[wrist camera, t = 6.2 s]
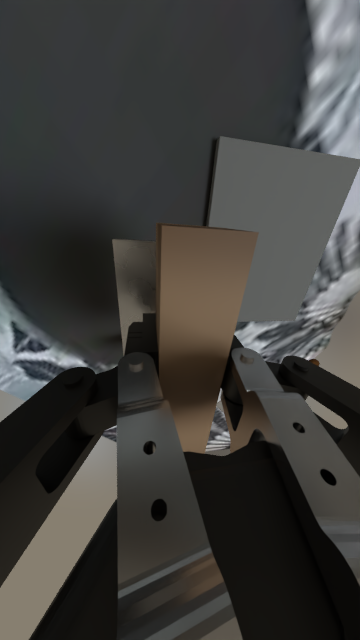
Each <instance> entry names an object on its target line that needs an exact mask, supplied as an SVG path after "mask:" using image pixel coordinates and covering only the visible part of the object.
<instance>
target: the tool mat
mask: <svg viewBox="0 0 360 640" xmlns="http://www.w3.org/2000/svg"><path fill="white" fill-rule="evenodd" d="M359 167H360V159H354V158H348V157H342V156H336V155H330V154H324V153H318V152H312V151H306V150H300V149H294V148H288V147H282V146H276V145H270V144H264V143H258V142H252V141H246V140H240V139H234V138H228V137H222V136H220V137H219V138H218V139H217V143H216V151H215V159H214V168H213V176H212V184H211V192H210V200H209V208H208V216H207V224H206V226H207V227H220V228H228V229H236V230H244V231H252V232H259V234H258V238H257V242H256V246H255V250H254V255H253V259H252V263H251V267H250V271H249V275H248V279H247V283H246V287H245V291H244V295H243V299H242V303H241V307H240V311H239V315H238V319H237V322H246V321H295V319H296V317H297V314H298V312H299V310H300V307H301V305H302V302H303V300H304V298H305V295H306V293H307V290H308V288H309V286H310V283H311V281H312V279H313V276H314V274H315V271H316V269H317V267H318V264H319V262H320V260H321V257H322V255H323V252H324V250H325V248H326V245H327V243H328V240H329V238H330V236H331V233H332V231H333V229H334V226H335V224H336V221H337V219H338V217H339V214H340V212H341V210H342V207H343V205H344V202H345V200H346V198H347V195H348V193H349V190H350V188H351V186H352V183H353V181H354V179H355V176H356V174H357V171H358V169H359Z"/></svg>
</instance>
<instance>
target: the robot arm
mask: <svg viewBox="0 0 360 640" xmlns="http://www.w3.org/2000/svg"><path fill="white" fill-rule="evenodd" d="M221 388H222V392H221V402H222V406H223V410H224V414H225V418H226V422H227V426H228V429H229V433H230V440H231V446H230V451H231V453H230V454H229V455H226V456H216V455H210V454H203V453H196V452H190V451H187V452H183V450H182V446H181V443H180V439H179V436H178V432H177V429H176V425H175V422H174V419H173V415H172V412H171V408H170V405H169V402H168V400H167V398H165V399H164V398H163V394H162V391H161V387H160V383H159V379H158V343H157V332H156V313H143V322H133V323H132V324H131V325H130V326H129V328H128V334H127V340H126V347H125V353H124V357H122V358H121V359H120V361H119V362H118V366H116V367H115V368H113V369H111V370H109V371H106V372H102V373H99V374H95V372H94V371H93V370H92V369H90V368H87V367H75V368H71V369H68V370H66V371H64V372H62V373H60V374H59V375H58V376H56V377H55V378H54V379H53V380H51V381H50V382H49V383H48V384H47V385H45V386H44V387H43V388H42V389H40V390H39V391H38V392H37V393H36V394H34V395H33V396H32V397H31V398H29V399H28V400H27V401H26V402H24V403H23V404H22V405H21V406H20V407H18V408H17V409H16V410H15V411H13V412H12V413H11V414H10V415H9V416H7V417H6V418H5V419H4V420H2V421H1V422H0V587H1V585H2V584H3V582H4V581H5V580H6V578H7V576H8V575H9V573H10V572H11V571H12V569H13V567H14V566H15V565H16V563H17V562H18V560H19V559H20V557H21V556H22V554H23V552H24V551H25V549H26V548H27V547H28V545H29V544H30V542H31V540H32V539H33V538H34V536H35V534H36V533H37V531H38V530H39V529H40V527H41V526H42V524H43V523H44V521H45V520H46V518H47V516H48V515H49V513H50V512H51V511H52V509H53V507H54V506H55V505H56V503H57V502H58V500H59V499H60V497H61V496H62V494H63V492H64V491H65V490H66V488H67V486H68V485H69V484H70V482H71V481H72V479H73V477H74V476H75V475H76V473H77V471H78V470H79V469H80V467H81V466H82V464H83V463H84V461H85V460H86V458H87V457H88V455H89V454H90V452H91V450H92V449H93V448H94V446H95V445H96V443H97V442H98V440H99V439H100V437H101V436H102V434H103V432H104V430H106V429H109V428H111V427H113V426H116V425H117V499H116V500H115V502H114V503H113V505H112V506H111V508H110V509H109V511H108V512H107V514H106V516H105V517H104V519H103V521H102V522H101V524H100V526H99V527H98V529H97V530H96V532H95V534H94V535H93V537H92V538H91V540H90V542H89V543H88V545H87V546H86V548H85V550H84V551H83V553H82V555H81V556H80V558H79V559H78V561H77V563H76V564H75V566H74V567H73V569H72V571H71V572H70V574H69V576H68V577H67V579H66V580H65V582H64V584H63V585H62V587H61V588H60V590H59V592H58V593H57V595H56V597H55V598H54V600H53V602H52V603H51V605H50V606H49V608H48V610H47V611H46V613H45V615H44V616H43V618H42V620H41V621H40V623H39V624H38V626H37V628H36V629H35V631H34V632H33V634H32V635H31V637H30V639H29V640H360V389H359V388H357V387H355V386H353V385H352V384H350V383H348V382H346V381H344V380H342V379H341V378H339V377H337V376H335V375H333V374H331V373H330V372H328V371H326V370H324V369H322V368H320V367H319V366H317V365H315V364H313V363H311V362H310V361H308V360H306V359H303V358H301V357H297V356H286V357H284V359H283V361H282V363H281V364H278V363H272V362H266V361H265V360H264V359H263V357H262V356H261V355H260V354H259V353H257V352H256V351H254V350H251V349H248V348H244V347H243V345H242V344H241V343H240V341H239V340H238V339H237V337H236V336H235V335H234V336H233V340H232V344H231V348H230V352H229V356H228V360H227V364H226V368H225V372H224V376H223V380H222V384H221ZM308 395H309V396H310V397H312V398H313V399H315V400H316V401H318V402H319V403H321V404H322V405H324V406H325V407H327V408H328V409H330V410H331V411H333V412H334V413H336V414H337V415H339V416H340V417H342V418H343V419H344V420H345V421H346V422H347V424H348V427H347V428H346V429H338V428H335V427H334V426H332V425H331V424H329V423H328V422H326V421H325V420H324V419H322V418H321V417H320V416H318V415H317V414H315V413H314V412H313V411H312V410H311V408H310V407H309V406H308V404H307V403H306V402H305V400H306V398H307V397H308Z"/></svg>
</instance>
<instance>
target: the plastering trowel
mask: <svg viewBox="0 0 360 640" xmlns="http://www.w3.org/2000/svg"><path fill="white" fill-rule="evenodd" d="M258 234H259V232H252V231H244V230H236V229H228V228H220V227H207V226H193V225H180V224H167V223H156V241H153V240H136V239H119V238H114V239H112V242H113V252H114V262H115V272H116V282H117V293H118V303H119V313H120V323H121V333H122V343H123V354H124V353H125V347H126V340H127V334H128V328H129V326H130V325H131V324H132V323H133V322H143V313H156V332H157V343H158V379H159V383H160V387H161V391H162V394H163V398H164V399H165V398H167V400H168V402H169V405H170V408H171V412H172V415H173V419H174V422H175V425H176V429H177V432H178V436H179V439H180V443H181V446H182V450H183V452H187V451H190V452H196V453H203V454H204V453H205V449H206V445H207V441H208V437H209V433H210V429H211V425H212V421H213V417H214V413H215V409H216V405H217V401H218V396H219V392H220V388H221V384H222V380H223V376H224V372H225V368H226V364H227V360H228V356H229V352H230V348H231V344H232V340H233V336H234V332H235V328H236V323H237V319H238V315H239V311H240V307H241V303H242V299H243V295H244V291H245V287H246V283H247V279H248V275H249V271H250V267H251V263H252V259H253V255H254V250H255V246H256V242H257V238H258Z"/></svg>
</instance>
